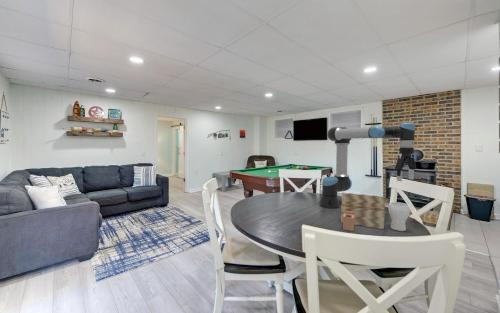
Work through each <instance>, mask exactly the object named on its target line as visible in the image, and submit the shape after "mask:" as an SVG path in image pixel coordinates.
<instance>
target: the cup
mask: <svg viewBox="0 0 500 313" xmlns="http://www.w3.org/2000/svg"><path fill="white" fill-rule="evenodd" d="M387 210H388V211H387V212H388V213H389V217H390V219H391V223H390V229H392V230H394V231H398V232H399V231H400V232H404V231H407V227H406V222H407V219H408V218H409V216H410V213H411V209H410V205H409V204H407V203H404V202H399V201H398V202H397V201H392V202H389V204H388V208H387Z"/></svg>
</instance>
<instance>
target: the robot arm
mask: <svg viewBox="0 0 500 313" xmlns="http://www.w3.org/2000/svg"><path fill="white" fill-rule="evenodd" d="M415 126H416V124H415V122H402V123H400V125H399V126H379V125H376V126H368V127H367V126H366V127H351V128H349V127H345V126H344V127H341V126H340V127H338V126H337V127H336V126H334V127H331V128H329V130H328V131H327V133H326V134H327V138H328V139H329V140H330V141H332V142H334V144H335V145H336V154H335V156H336V157H335V158H336V162H335V164H336V166H335V172H336V173H335V174H334V176H326V177H324V178H322V183H321V184H322V186H321V190H322V191H321V192H322V193H321V199H320V201H319V205H320V206H321V207H322V208H326V209H338V208H340V202H339V198H338V193H340V192H341V193H342V192H346V191H349V190H350V189H351V188H352V184H353V182H352V180H351V178H350V175H349V174H348V151H349V150H348V148H349V147H348V146H349V145H350V143H351V142H350V141H351V140H352V139H399V149H398V150H399V152H398V153H399V154H398V155H397V160H396V164H395V166H394V170H395V171H396V182H403V171H402V170H403V168H404V166H405V165H406V164H407V166H408V168H409V169H408V175H407V177H408V178H407V179H408V180H414V174H415V170H417V165H416V161H415V154H414V152H415V148H414V147H415V134H416V133H415V131H416V127H415Z"/></svg>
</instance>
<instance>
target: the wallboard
mask: <svg viewBox="0 0 500 313" xmlns="http://www.w3.org/2000/svg"><path fill="white" fill-rule="evenodd" d="M385 198H386V197H385V196H383V195H372V194H361V193H353V192H345V191H341V204H340V223H341V224H343V215H344V213H345V210H346V211H354V215H355V218H354V226H355V225H356V226H360V225H361V226H362V227H368V228H375V229H379V230H380V229H381V230H384V229H385V210H386V209H385Z"/></svg>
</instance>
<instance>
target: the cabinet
mask: <svg viewBox="0 0 500 313" xmlns="http://www.w3.org/2000/svg"><path fill="white" fill-rule="evenodd" d="M354 218H355V215H354V211H346V210H345V213H344V215H343V223H342V231H348V230H349V232H353V231H354V232H355V225H354Z"/></svg>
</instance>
